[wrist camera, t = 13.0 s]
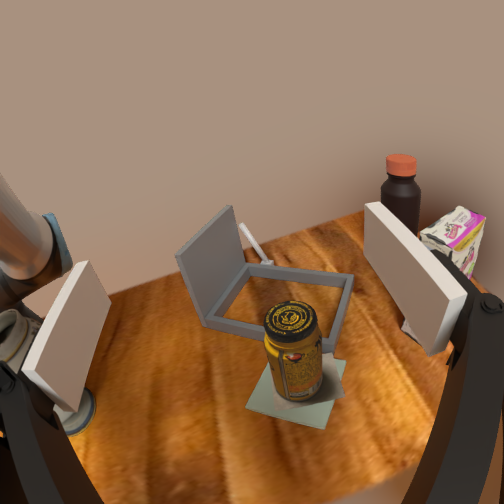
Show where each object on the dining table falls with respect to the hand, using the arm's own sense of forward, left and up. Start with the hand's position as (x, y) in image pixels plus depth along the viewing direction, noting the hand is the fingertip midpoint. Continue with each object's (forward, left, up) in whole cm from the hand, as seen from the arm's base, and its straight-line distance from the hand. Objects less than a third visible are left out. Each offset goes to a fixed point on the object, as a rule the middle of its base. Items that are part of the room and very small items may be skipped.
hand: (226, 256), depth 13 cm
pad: (-2, +9, -26) cm, 28 cm away
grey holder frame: (-9, +23, -26) cm, 36 cm away
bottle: (+8, +37, -27) cm, 46 cm away
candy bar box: (+15, +24, -27) cm, 39 cm away
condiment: (-1, +10, -26) cm, 28 cm away
